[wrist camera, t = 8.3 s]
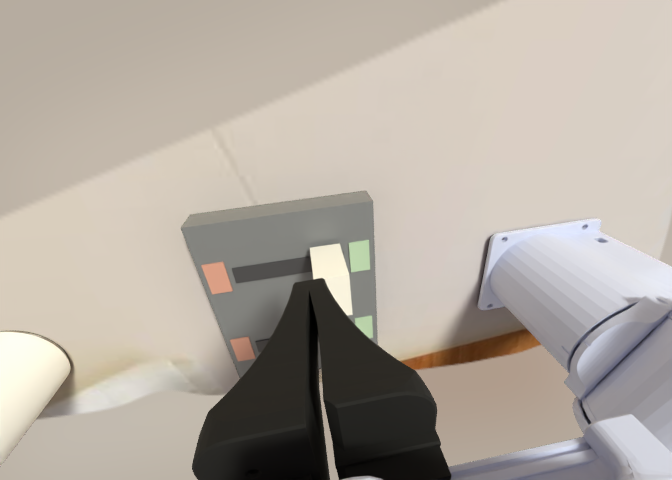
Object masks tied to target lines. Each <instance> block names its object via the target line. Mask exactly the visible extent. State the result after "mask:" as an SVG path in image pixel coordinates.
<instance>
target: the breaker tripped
mask: <svg viewBox="0 0 672 480" xmlns="http://www.w3.org/2000/svg"><path fill="white" fill-rule="evenodd" d="M310 255H311V263H312V271H313V279H318V278H323V279H325V282H326V284H327V286H328V288H329V290H330V292H331V294H332V295H333V297H334V299H335V300H336V301H337V303H338V304H339V306H340V307H341V308H342V310H343V311H344V312H345V314H346V315H347V316H348V315H353V313H352V301H351V290H350V278H349V272H348V269H347V266H346V263H345V259H344V256H343V253H342V250H341V246H340V243H338V244H332V245H325V246H318V247H312V248H310Z"/></svg>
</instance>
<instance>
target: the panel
mask: <svg viewBox="0 0 672 480" xmlns="http://www.w3.org/2000/svg"><path fill="white" fill-rule="evenodd" d="M181 230H182V233H183V235H184V238H185V240H186V243H187V245H188V248H189V251H190V253H191V256H192V258H193V261H194V263H195V266H196V268H197V271H198V273H199V276H200V278H201V281H202V283H203V286H204V288H205V291H206V294H207V296H208V299H209V301H210V304H211V306H212V309H213V311H214V314H215V316H216V319H217V321H218V324H219V326H220V329H221V331H222V334H223V336H224V339H225V342H226V344H227V347H228V349H229V352H230V354H231V357H232V359H233V362H234V364H235V367H236V369H237V372H238V374H239V377H240V379H241V377H242V376H243V375H244V374H245V373H246V372H247V370H248V369H249V368H250V367H251V365H252V364H253V363H254V361H255V360H256V359H257V357H258V356H259V354H260V353H261V352H262V350H263V349H264V347H265V346H266V344H267V342H268V341H269V339H270V337H271V336H272V334H273V332H274V330H275V328H276V327H277V325H278V323H279V321H280V319H281V317H282V314H283V312H284V310H285V308H286V305H287V303H288V300H289V297H290V294H291V291H292V288H293V285H294V283H295V282H301V281H307V280H312V279H313V271H312V263H311V255H310V248H312V247H318V246H325V245H332V244H338V243H340V246H341V250H342V253H343V256H344V259H345V263H346V266H347V269H348V272H349V278H350V290H351V301H352V313H353V315H348V317H349V318H350V320H351V321H352V322H353V323H354V324H355V325H356V326H357V327H358V328H359V329H360V330H361V331H362V332H363V333H364V334H365V335H366V336H367V337H368V338H369V339H371V340H372V341H373V342H374V343H376V344H377V345H378V342H377V311H376V280H375V249H374V218H373V200H372V199H371V197H370V196H369V194H368V193H367V192H366V191H360V192H353V193H345V194H338V195H331V196H324V197H316V198H309V199H302V200H294V201H287V202H280V203H273V204H265V205H258V206H251V207H243V208H236V209H229V210H222V211H214V212H207V213H200V214H193V215H190V216H189V217H188V219H187V220H186V221H185V223H184V224H183V225H182V227H181ZM318 364H319V369H320V368H321V355H320V344H319V337H318Z"/></svg>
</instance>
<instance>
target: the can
mask: <svg viewBox="0 0 672 480" xmlns="http://www.w3.org/2000/svg"><path fill="white" fill-rule="evenodd" d="M70 369H71V367H70V363H69V359H68V356H67V355H66V353H65V352H64V350H63V349H62V348H61V347H60V346H59V345H57V344H56V343H54V342H53V341H51V340H49V339H47V338H45V337H42V336H40V335H37V334H33V333H29V332H23V331H3V332H0V467H1V465H2V464H3V463H4V461H5V460H6V459H7V457H8V456H9V455H10V453H11V452H12V451H13V449H14V448H15V447H16V445H17V444H18V442H19V441H20V440H21V439H22V437H23V436H24V435H25V433H26V432H27V430H28V429H29V428H30V426H31V425H32V424H33V422H34V421H35V420H36V418H37V417H38V416H39V414H40V413H41V412H42V410H43V409H44V408H45V406H46V405H47V404H48V402H49V401H50V400H51V398H52V397H53V396H54V394H55V393H56V391H57V390H58V389H59V387H60V386H61V385H62V383H63V382H64V380H65V379H66V378H67V376H68V375H69V373H70Z"/></svg>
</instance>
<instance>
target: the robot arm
mask: <svg viewBox="0 0 672 480" xmlns="http://www.w3.org/2000/svg"><path fill="white" fill-rule="evenodd" d="M600 226H601V220H599V219H597V218H593V219H586V220H580V221H573V222H567V223H560V224H554V225H547V226H541V227H534V228H528V229H521V230H515V231H508V232H502V233H496V234H494V235H493V236H492V237H491V239H490V243H489V248H488V254H487V259H486V264H485V269H484V274H483V280H482V285H481V290H480V295H479V301H478V308H479V309H480V310H482V311H483V310H490V309H495V308H501V307H506V308H507V309H508V310H509V311H510V312H511V313H512V314H513V315H514V316H515V317H516V318H517V319H518V320H519V321H520V322H521V323H522V324H523V325H524V326H525V327H526V328H527V330H528V331H529V332H530V333H531V334H532V335H533V336H534V337H535V338H536V339H537V340H538V341H539V342H540V343H541V344H542V345H543V346H544V347H545V348H546V349H547V351H548V352H550V353H551V355H552V356H553V357H554V358H555V359H556V360H557V361H558V362H559V363H560V364H561V365H562V366H563V367H564V368H565V369H566V370H567V372H569V375H568V377H567V379H566V380H565V381H564V383H565V384H566V385H567V387H568V388H569V389H570V390H571V391H572V392H573V393H574V394H575V395H576V398H575V399H574V402H573V412H574V415H575V418H576V420H577V422H578V424H579V426H580V428H581V430H582V432H583V434H584V436H583V437H580V438H575V439H571V440H566V441H562V442H558V443H553V444H548V445H544V446H540V447H535V448H531V449H526V450H522V451H518V452H513V453H508V454H504V455H499V456H495V457H491V458H486V459H482V460H477V461H473V462H468V463H464V464H459V465H455V466H450V467H448V465H447V463H446V460H445V458H444V456H443V453H442V451H441V448H440V445H441V443H440V439H439V437H438V435H437V432H436V430H435V426H436V416H437V407H436V403H435V401H434V398H433V397H432V395H431V393H430V391H429V390H428V388H427V386H426V385H425V383H424V382H423V380H422V379H421V378H420V376H419V375H418V374H417V372H416V371H415V370H413V369H411V368H410V367H408V366H406V365H405V364H403V363H402V362H400V361H398V360H397V359H395V358H394V357H393V356H391V355H390V354H388V353H387V352H385V351H384V350H383V349H382V348H381V347H379V346H378V345H377V344H376V343H374V342H373V341H372V340H371V339H369V338H368V337H367V336H366V335H365V334H364V333H363V332H362V331H361V330H360V329H359V328H358V327H357V326H356V325H355V324H354V323H353V322H352V321H351V320H350V318H349V317H348V316H347V315H346V314H345V312H344V311H343V310H342V308H341V307H340V306H339V304H338V303H337V301H336V300H335V299H334V297H333V295H332V294H331V292H330V290H329V288H328V286H327V284H326V282H325V279H323V278H318V279H312V280H307V281H301V282H295V283H294V285H293V288H292V291H291V294H290V297H289V300H288V303H287V305H286V308H285V310H284V312H283V314H282V317H281V319H280V321H279V323H278V325H277V327H276V328H275V330H274V332H273V334H272V336H271V337H270V339H269V341H268V342H267V344H266V346H265V347H264V349H263V350H262V352H261V353H260V354H259V356H258V357H257V359H256V360H255V361H254V363H253V364H252V365H251V367H250V368H249V369H248V370H247V372H246V373H245V374H244V375H243V376H242V377H241V379H240V380H239V381H238V382H237V383H236V385H235V386H234V387H233V388H232V389H231V390H230V391H229V392H228V393H227V394H226V395H225V396H224V397H223V398H222V399H221V400H220V401H219V402H218V403H217V404H216V405H215V406H214V407H213V408H212V409H211V410H210V411H209V412H208V414H207V417H206V419H205V422H204V424H203V427H202V430H201V433H200V435H199V439H198V443H197V447H196V451H195V455H194V459H193V464H192V470H193V472H194V475H195V476H196V477H197V479H198V480H330V477H329V469H328V461H327V453H326V445H325V436H324V427H323V419H322V410H321V401H320V392H319V364H318V337H319V344H320V355H321V368H322V383H323V399H324V404H325V409H326V414H327V418H328V423H329V428H330V432H331V437H332V441H333V450H334V457H335V466H336V469H337V472H338V477H339V480H672V267H671V266H669V265H667V264H665V263H663V262H661V261H659V260H657V259H655V258H653V257H651V256H649V255H647V254H645V253H643V252H641V251H639V250H637V249H635V248H633V247H630V246H628V245H626V244H624V243H622V242H620V241H618V240H616V239H614V238H612V237H610V236H608V235H606V234H604V233H602V232H600V231H599V229H600ZM502 238H504V239H503V240H502Z"/></svg>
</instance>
